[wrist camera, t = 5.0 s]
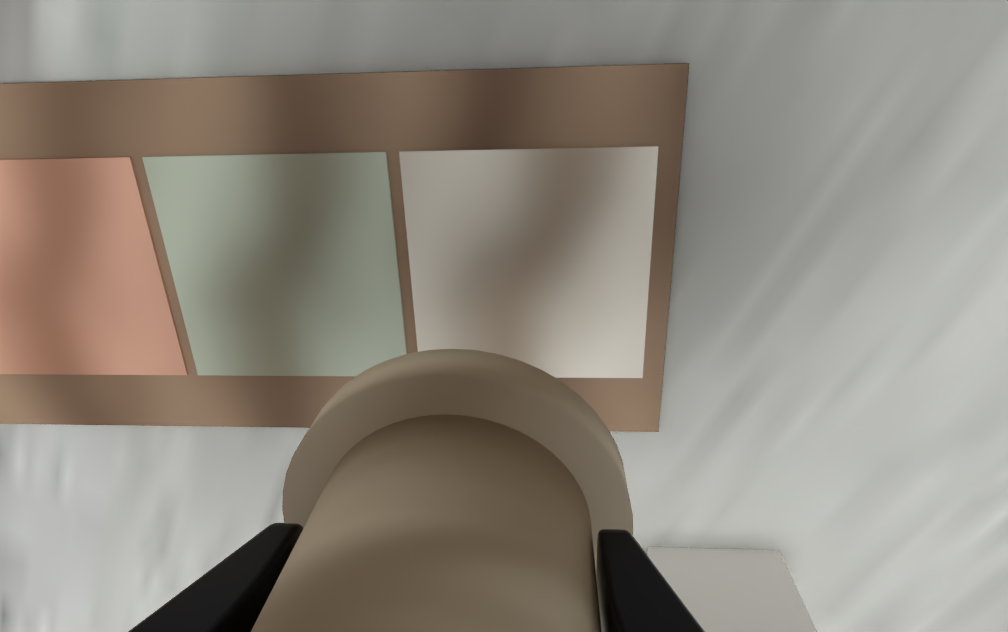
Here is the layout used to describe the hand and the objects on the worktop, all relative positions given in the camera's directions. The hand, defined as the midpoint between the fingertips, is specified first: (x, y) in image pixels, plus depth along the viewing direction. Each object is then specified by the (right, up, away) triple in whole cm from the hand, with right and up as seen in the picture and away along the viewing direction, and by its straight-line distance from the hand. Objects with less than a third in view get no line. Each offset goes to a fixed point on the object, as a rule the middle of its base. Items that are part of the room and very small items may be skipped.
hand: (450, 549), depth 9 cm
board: (-6, +5, +12) cm, 14 cm away
